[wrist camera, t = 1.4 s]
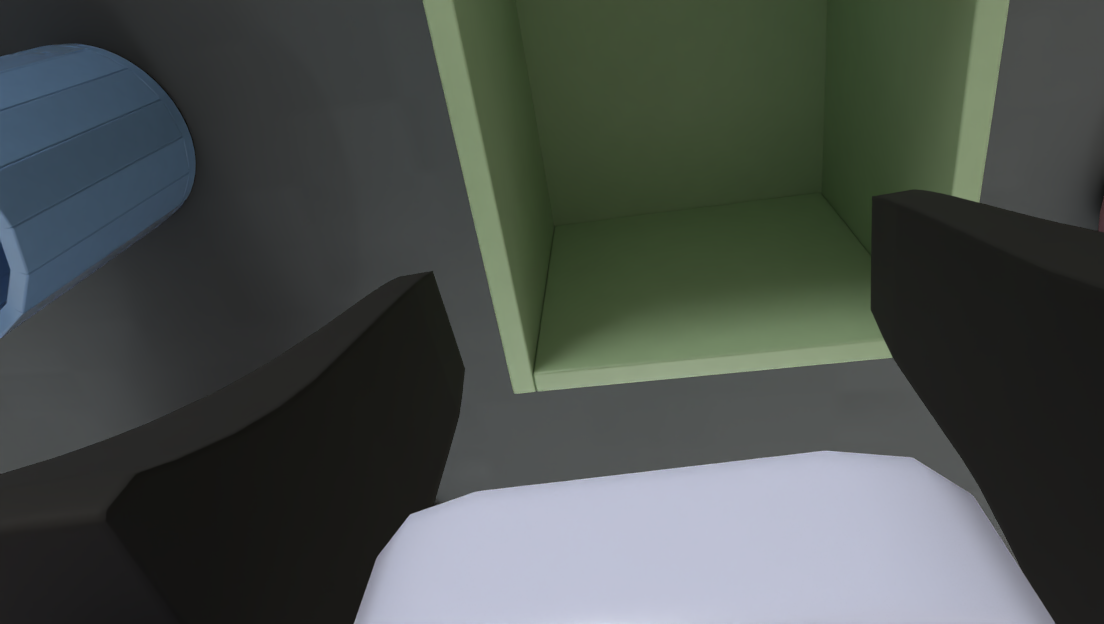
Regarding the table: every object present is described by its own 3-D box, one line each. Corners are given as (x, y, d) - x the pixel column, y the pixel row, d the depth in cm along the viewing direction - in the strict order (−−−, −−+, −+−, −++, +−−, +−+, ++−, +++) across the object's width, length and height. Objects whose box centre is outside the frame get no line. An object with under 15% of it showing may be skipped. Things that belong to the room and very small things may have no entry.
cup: (133, 256, 24) (-44, 387, 17) (-24, 127, 22) (-292, 219, 15) (233, 153, 21) (74, 257, 15) (69, -1, 19) (-195, 42, 13)
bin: (542, 235, 22) (513, 395, 15) (467, -177, 17) (364, -245, 10) (833, 198, 21) (958, 352, 14) (851, -257, 16) (1071, -404, 8)
